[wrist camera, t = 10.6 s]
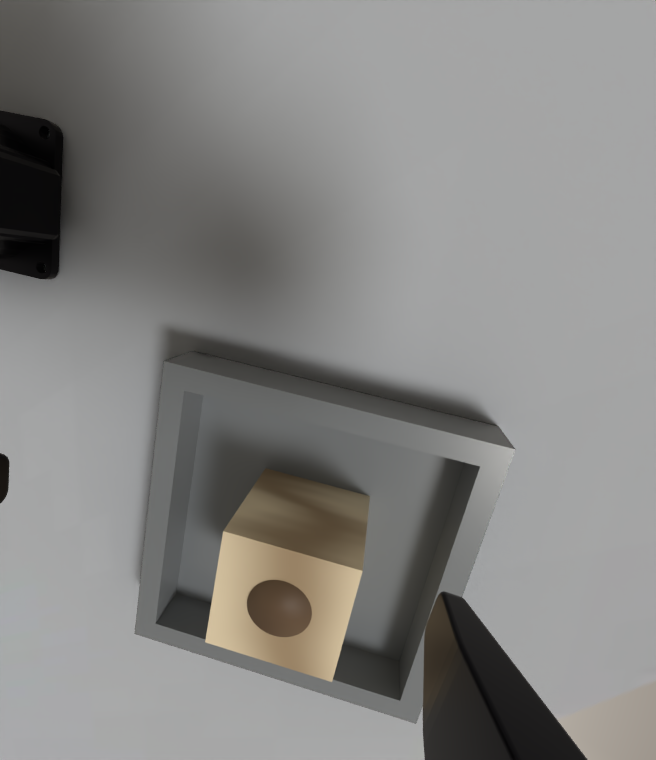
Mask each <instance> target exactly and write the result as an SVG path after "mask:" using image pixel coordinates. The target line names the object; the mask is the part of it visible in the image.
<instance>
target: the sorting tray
mask: <svg viewBox="0 0 656 760" xmlns="http://www.w3.org/2000/svg"><path fill="white" fill-rule="evenodd" d="M515 450H516V449H515V448H514V447H513V445H512V444H511V443H510V441H509V440H508V439H507V437H506V436H505V435H504V433H503V432H502V431H501V429H500V428H499V426H495V425H491V424H487V423H483V422H479V421H475V420H470V419H466V418H462V417H458V416H454V415H450V414H446V413H442V412H438V411H434V410H430V409H426V408H422V407H418V406H414V405H410V404H406V403H401V402H397V401H393V400H389V399H385V398H381V397H377V396H373V395H369V394H365V393H361V392H357V391H353V390H349V389H345V388H341V387H337V386H333V385H328V384H324V383H320V382H316V381H312V380H308V379H304V378H300V377H296V376H292V375H288V374H284V373H280V372H276V371H272V370H268V369H264V368H259V367H255V366H251V365H247V364H243V363H239V362H235V361H231V360H227V359H223V358H219V357H215V356H211V355H207V354H203V353H199V352H195V351H192V352H189V353H186V354H183V355H180V356H177V357H174V358H172V359H169V360H166V361H164V363H163V372H162V382H161V391H160V400H159V410H158V419H157V428H156V438H155V447H154V456H153V466H152V475H151V485H150V494H149V503H148V513H147V522H146V531H145V541H144V550H143V559H142V569H141V578H140V587H139V597H138V606H137V615H136V625H135V634H137V635H140V636H143V637H146V638H149V639H152V640H156V641H159V642H162V643H165V644H168V645H171V646H174V647H178V648H181V649H184V650H187V651H190V652H193V653H196V654H199V655H203V656H206V657H209V658H212V659H215V660H218V661H221V662H224V663H228V664H231V665H234V666H237V667H240V668H243V669H246V670H249V671H253V672H256V673H259V674H262V675H265V676H268V677H271V678H275V679H278V680H281V681H284V682H287V683H290V684H293V685H296V686H300V687H303V688H306V689H309V690H312V691H315V692H318V693H321V694H325V695H328V696H331V697H334V698H337V699H340V700H343V701H347V702H350V703H353V704H356V705H359V706H362V707H365V708H368V709H372V710H375V711H378V712H381V713H384V714H387V715H390V716H393V717H397V718H400V719H403V720H406V721H409V722H412V723H415V724H416V723H417V720H418V717H419V714H420V712H421V709H422V706H423V677H424V634H425V628H426V624H427V621H428V619H429V616H430V614H431V611H432V609H433V606H434V604H435V601H436V599H437V596H438V595H439V593H440V592H443V591H445V592H448V593H451V594H454V595H458V596H460V597H462V596H463V593H464V590H465V588H466V585H467V582H468V579H469V576H470V574H471V571H472V568H473V565H474V563H475V560H476V557H477V554H478V552H479V549H480V546H481V543H482V541H483V538H484V535H485V532H486V530H487V527H488V524H489V521H490V519H491V516H492V513H493V510H494V508H495V505H496V502H497V499H498V497H499V494H500V491H501V488H502V485H503V483H504V480H505V477H506V474H507V472H508V469H509V466H510V463H511V461H512V458H513V455H514V452H515ZM265 468H267V469H270V470H274V471H278V472H281V473H285V474H289V475H293V476H296V477H300V478H304V479H308V480H311V481H315V482H319V483H323V484H326V485H330V486H334V487H337V488H341V489H345V490H349V491H352V492H356V493H360V494H364V495H367V496H370V501H369V512H368V522H367V532H366V542H365V552H364V562H363V572H362V575H361V579H360V582H359V586H358V590H357V593H356V597H355V601H354V604H353V608H352V612H351V615H350V619H349V622H348V626H347V630H346V633H345V637H344V641H343V644H342V648H341V651H340V655H339V659H338V662H337V666H336V670H335V673H334V677H333V681H332V682H330V681H327V680H324V679H321V678H317V677H314V676H311V675H308V674H305V673H301V672H298V671H295V670H292V669H289V668H285V667H282V666H279V665H276V664H273V663H270V662H266V661H263V660H260V659H257V658H254V657H250V656H247V655H244V654H241V653H238V652H235V651H231V650H228V649H225V648H222V647H219V646H215V645H212V644H209V643H206V642H205V640H206V634H207V628H208V621H209V615H210V609H211V603H212V597H213V591H214V585H215V578H216V572H217V566H218V560H219V554H220V548H221V541H222V535H223V531H224V529H225V528H226V526H227V525H228V523H229V522H230V520H231V519H232V517H233V516H234V514H235V513H236V511H237V510H238V508H239V507H240V505H241V504H242V502H243V501H244V499H245V498H246V497H247V495H248V494H249V492H250V491H251V489H252V488H253V486H254V485H255V483H256V482H257V480H258V479H259V477H260V476H261V474H262V473H263V471H264V470H265Z"/></svg>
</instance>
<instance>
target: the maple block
mask: <svg viewBox="0 0 656 760" xmlns="http://www.w3.org/2000/svg"><path fill="white" fill-rule="evenodd" d="M369 501H370V496H367V495H364V494H360V493H356V492H352V491H349V490H345V489H341V488H337V487H334V486H330V485H326V484H323V483H319V482H315V481H311V480H308V479H304V478H300V477H296V476H293V475H289V474H285V473H281V472H278V471H274V470H270V469H267V468H265V470H264V471H263V473H262V474H261V476H260V477H259V479H258V480H257V482H256V483H255V485H254V486H253V488H252V489H251V491H250V492H249V494H248V495H247V497H246V498H245V499H244V501H243V502H242V504H241V505H240V507H239V508H238V510H237V511H236V513H235V514H234V516H233V517H232V519H231V520H230V522H229V523H228V525H227V526H226V528H225V529H224V531H223V535H222V541H221V548H220V554H219V560H218V566H217V572H216V578H215V585H214V591H213V597H212V603H211V609H210V615H209V621H208V628H207V634H206V640H205V642H206V643H209V644H212V645H215V646H219V647H222V648H225V649H228V650H231V651H235V652H238V653H241V654H244V655H247V656H250V657H254V658H257V659H260V660H263V661H266V662H270V663H273V664H276V665H279V666H282V667H285V668H289V669H292V670H295V671H298V672H301V673H305V674H308V675H311V676H314V677H317V678H321V679H324V680H327V681H330V682H332V681H333V677H334V673H335V670H336V666H337V662H338V659H339V655H340V651H341V648H342V644H343V641H344V637H345V633H346V630H347V626H348V622H349V619H350V615H351V612H352V608H353V604H354V601H355V597H356V593H357V590H358V586H359V582H360V579H361V575H362V572H363V562H364V552H365V542H366V532H367V522H368V512H369Z"/></svg>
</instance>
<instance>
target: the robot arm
mask: <svg viewBox="0 0 656 760" xmlns="http://www.w3.org/2000/svg"><path fill="white" fill-rule="evenodd" d="M49 130H50V137H49V138H48V139H47V132H48V131H49ZM62 152H63V135H62V131H61V129H60V128H59V127H58V126H57V125H56V124H54V123H52V122H50V121H47V120H45V119H40V118H35V117H30V116H25V115H20V114H15V113H10V112H5V111H0V269H1V270H5V271H10V272H14V273H18V274H22V275H26V276H31V277H35V278H39V279H53V278H55V277H56V276H57V274H58V267H59V238H60V209H61V180H62ZM44 264H45V265H46V272H45V271H44V267H43V266H44ZM8 484H9V459H8V457H7V456H5V455H4V454H1V453H0V503H1V502H2V501H3V500H4V499H5V497H6V495H7V492H8ZM423 739H424V754H425V760H587V758H586V757H585V756H584V754H583V753H582V752H581V751H580V749H579V748H578V747H577V745H576V744H575V743H574V741H573V740H572V739H571V737H570V736H569V735H568V734H567V732H566V731H565V730H564V728H563V727H562V726H561V724H560V723H559V722H558V721H557V719H556V718H555V717H554V715H553V714H552V713H551V711H550V710H549V709H548V708H547V706H546V705H545V704H544V702H543V701H542V700H541V698H540V697H539V696H538V695H537V693H536V692H535V691H534V689H533V688H532V687H531V685H530V684H529V683H528V681H527V680H526V679H525V678H524V676H523V675H522V674H521V672H520V671H519V670H518V668H517V667H516V666H515V665H514V663H513V662H512V661H511V659H510V658H509V657H508V655H507V654H506V653H505V652H504V650H503V649H502V648H501V646H500V645H499V644H498V642H497V641H496V640H495V638H494V637H493V636H492V635H491V633H490V632H489V631H488V629H487V628H486V627H485V625H484V624H483V623H482V622H481V620H480V619H479V618H478V616H477V615H476V614H475V612H474V611H473V610H472V609H471V607H470V606H469V605H468V603H467V602H466V601H465V600H464V599H463V598H462V597H460V596H458V595H454V594H451V593H448V592H445V591H443V592H440V593H439V595H438V596H437V599H436V601H435V604H434V606H433V609H432V611H431V614H430V616H429V619H428V621H427V624H426V628H425V634H424V677H423Z"/></svg>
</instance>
